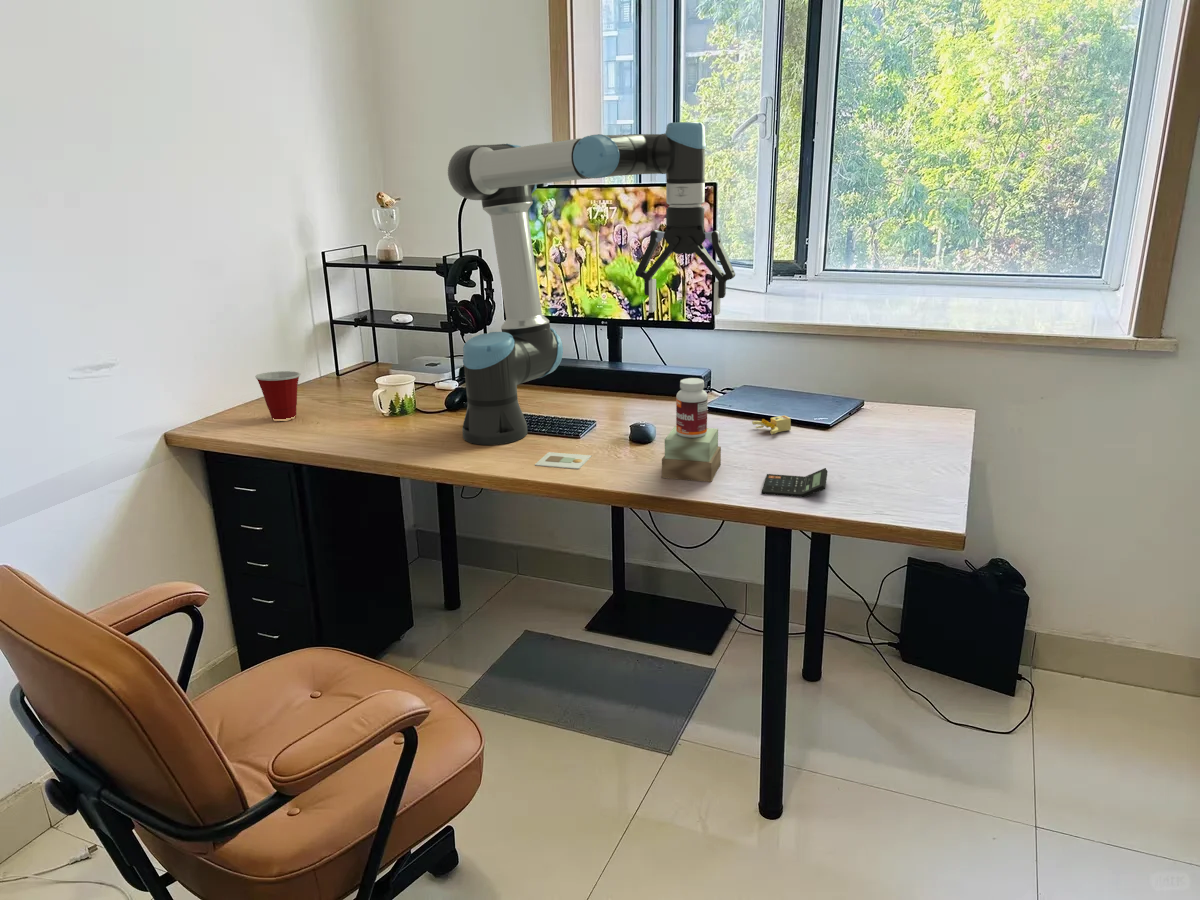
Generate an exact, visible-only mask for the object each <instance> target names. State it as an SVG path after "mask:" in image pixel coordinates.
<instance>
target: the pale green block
mask: <svg viewBox="0 0 1200 900" xmlns="http://www.w3.org/2000/svg"><path fill="white" fill-rule="evenodd" d="M721 448H722V446H720V445H719V428H715V427H707V433H706V434H705V435H704V436H702V437H698V438H687V437H682V436H679V435H678V434H677V432H676V425H675V426H673V428H672V430H671V431H670V432H669V433H668V435H667V436H666V437H665V438H664V455H663V457H662V458H661V478H662V479H672V480H684V481H692V482H693V481H694V482H707V483H712V481H713V479H714V478H715V476H716V474H717V473H718V470H719V468H720V467H721V465H722V464H721V463H722V462H721V461H722V458H721V457H722V456H721V455H722V452H721V451H722V449H721Z"/></svg>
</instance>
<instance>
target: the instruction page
mask: <svg viewBox="0 0 1200 900" xmlns="http://www.w3.org/2000/svg"><path fill="white" fill-rule="evenodd" d="M591 458H592V455H589V454H580V453H579V454H577V453H564V452H553V451H548V452H547V453H545V454H544V456H542V457H541V458H540V459H539V460H538V461H537V462H536V463H534V466H538V467H550V468H560V469H561V468H564V469H574V470H580V469H581V468H582V467H583V466H584V465H586V463H587V462H588V460H590V459H591Z"/></svg>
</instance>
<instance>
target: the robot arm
mask: <svg viewBox="0 0 1200 900" xmlns="http://www.w3.org/2000/svg"><path fill="white" fill-rule="evenodd" d="M706 148H707V145H706V128H705V124H703V123H702V122H701V121H700V122H699V121H681V122H680V121H679V122H669V123H668V124H667V125H666V131H665V133H661V134H659V133H657V134H655V133H654V134H653V133H651V134H650V133H644V134H643V133H641V134H639V133H633V134H632V133H629V134H606V135H605V134H590V135H587V136H584V137H582V138H574V139H566V140H560V141H553V142H546V143H545V142H544V143H539V144H538V143H537V144H532V145H531V144H529V145H525V146H523V145H522V146H521V145H518V144H510V143H501V144H500V143H499V144H473V145H467V146H464V147H461V148H459V149H458V150H457V151H455V152H454V153H453V155H452V156H451V157H450V160H449V163H448V167H447V176H448V181H449V183H450V185H451V187H452V189H453V190H454V191H455V192H456V193H457V195H459V196H460V197H462V198H464V199H467V200H470V201H481V206H482V210H483V211H484V212H486V213H487V214H488V215H489V216H490V221H491V222H490V223H491V228H492V234H493V241H494V247H495V254H496V261H497V267H498V272H499V280H500V285H501V293H502V298H503V299H502V300H503V306H504V313H505V318H506V319H505V321H504V322H503V323H502V325H501V327H500V328H501V331H490V332H487V333H481V334H478V335H475V336H473V337H471V338H469V339H467V341H466V342H465V343H464V345H463V348H462V351H463V353H462V354H463V356H462V364H463V371H464V381H465V389H466V390H465V391H466V401H467V407H466V412H465V416H464V419H463V425H462V438H463V440H465V442H468V443H470V444H474V445H482V446H489V445H490V446H493V445H495V446H496V445H504V444H509V443H514V442H517V441H519V440H521V439H523V438H525V437H526V436H527V435H528V424H527V420H526V419H525V415H524V414H523V411H522V409H521V406H520V403H519V400H518V399H519V397H518V385H521V384H523V383H526V382H529V381H532V380H536V379H541V378H544V377H546V376H547V375H549V374H551V373H554V371H556V370H557V369H558V367H559V366H560V364H561V362H562V359H563V354H564V353H563V352H564V348H563V342H562V339H561V337H560V335H559V334H558V333H557V331H556V330H555V329H554V328H553V327H551V324H550V320H549V319H548V318H547V317H546V316H545V315H544V314H543V313H542V304H541V298H540V292H539V284H538V277H537V270H536V263H535V257H534V256H535V255H534V249H533V242H532V233H531V227H530V221H529V220H530V219H529V214H528V211H529V209H530V207H531V206H532V205H533V204H534V203H533V202H534V201H533V193H534V192H535V191H536V190H537V186H538V185H541V184H542V185H543V184H550V183H551V184H552V183H559V182H569V181H570V182H571V181H578V180H590V179H600V178H601V179H602V178H610V177H617V176H618V177H619V176H621V177H623V176H634V175H658V174H659V175H665V176H666V177H665V178H666V179H665V180H666V181H665V182H666V184H665V185H666V187H665V188H666V189H665V190H666V192H665V193H666V194H665V195H666V197H665V199H666V204H667V205H669V206H667V208H666V211H665V213H666V214H665V215H666V217H665V222H666V223H665V226H666V227H665V231H660V230H658V229H655V230H652V231H650V236H649V242H648V244H647V247H646V249H645V251H644V253H643V256H642V258H641V260H640V262H639V264H638V266H637V268H636V270H635V274H634V275H635V276H636V277H639V278H642V279H643V281H644V282H643V283H644V285H643V286H644V287H643V289H644V291H643V292H644V295H645V296H648V313H654V312H656V311H657V279H656V278H653V277H654V275H655V274H656V273H657V272H658V270H659V269H660V268H661V267H662V266H663V265H664V264H665V262H666V261H667V259H668V258H669V257H670V256H671V255H672V254H676V255H682V254H685V255H693V254H694V253H695V254H696V256H698V257H699V259H700V260H701V261H702V262H703V264H704V265H705V266H706V267H707V269H709V271H710V272H711V273H712V275H713V276H714V277H715V279H716V281H715V282H713V316H718V315H719V314H721V299H724V298H725V297H726V290H727V289H726V286H727V281H729V280H732V279H734V278H735V276H736V272H735V270H734V268H733V266H732V264H731V261H730V258H729V257H728V255H727V253H726V252H727V251H725V248H724V246H723V244H722V241H721V232H720V231H719V230H717V229H716V230H714V231H708V232H706V230H705V208H704V206H702V205H703V204H704V203H705V201H706V200H705V198H706V195H705V194H706V193H705V192H706V190H705V189H706V188H705V187H706V185H705V184H706V183H705V174H706V173H705V172H706V171H705V170H706V166H705V164H706ZM663 238H664V241H665V242H666V243H667V246H666V247H665V249H664V250H663V251H662V252H661V254H660V256H659V257H658V258H657V259H656V260H655V262H654V263H653V264H652V265H651V266H650V268H649V269H648V266H649V264H650V261H651V260H652V258H653V255H654V253H655V250H656V249H657V247H658V246H659V245H658V244H659V242H662V240H663ZM706 239H707V240H708V241H709V243H711V244H712V247H713V250H714V252H715V254H716V256H717V258H718V260H719V262H720V266H721V267H722V269H723V270H722V269H721V267H720V266H719V265H718V263H717V262H716V261H715V260H714V259H713V257H712V256H711V255H710V254H709V252H708V251H707V248H705V246H704V245H703V243H704V242H705V240H706ZM647 269H648V270H647ZM646 270H647V271H646Z"/></svg>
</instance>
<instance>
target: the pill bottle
mask: <svg viewBox="0 0 1200 900" xmlns="http://www.w3.org/2000/svg"><path fill="white" fill-rule="evenodd" d="M679 389H680V390H679V391H678V392H677V393H676V396H675V397H676V398H675V399H676V400H675V403H676V404H675V405H676V409H675V411H676V415H675V416H676V417H675V418H676V419H675V420H676V421H675V422H676V423H675V424H676V425H675V426H676V432H677V434H678V435H679V436H682V437H687V438H698V437H702V436H704V435H705V434H706V433H707V428H708V393H707V391H705V390H704V389H705V381H704V379H702V378H698V377H688V378H683V379H680V381H679Z"/></svg>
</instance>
